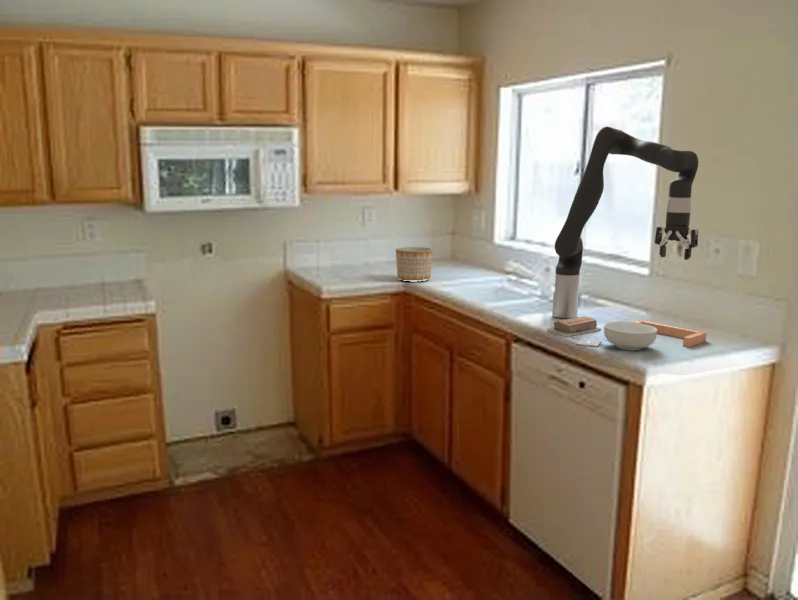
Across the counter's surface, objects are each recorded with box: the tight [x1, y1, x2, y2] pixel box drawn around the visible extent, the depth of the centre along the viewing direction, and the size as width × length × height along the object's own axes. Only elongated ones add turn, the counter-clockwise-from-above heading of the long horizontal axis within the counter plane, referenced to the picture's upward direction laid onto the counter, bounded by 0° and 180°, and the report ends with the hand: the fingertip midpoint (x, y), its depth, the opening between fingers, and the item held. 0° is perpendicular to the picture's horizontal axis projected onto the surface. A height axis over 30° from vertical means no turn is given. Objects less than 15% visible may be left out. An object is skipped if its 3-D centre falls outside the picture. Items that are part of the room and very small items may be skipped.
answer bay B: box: [634, 319, 708, 348], centre depth 239 cm, size 12×25×3 cm, turn 40°
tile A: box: [576, 338, 602, 348], centre depth 230 cm, size 7×7×1 cm
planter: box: [395, 246, 434, 280], centre depth 354 cm, size 19×19×16 cm
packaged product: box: [546, 316, 602, 338], centre depth 247 cm, size 18×5×10 cm
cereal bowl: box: [603, 320, 658, 351], centre depth 225 cm, size 17×17×7 cm
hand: (674, 258), depth 233 cm, fingers open, 8 cm apart
